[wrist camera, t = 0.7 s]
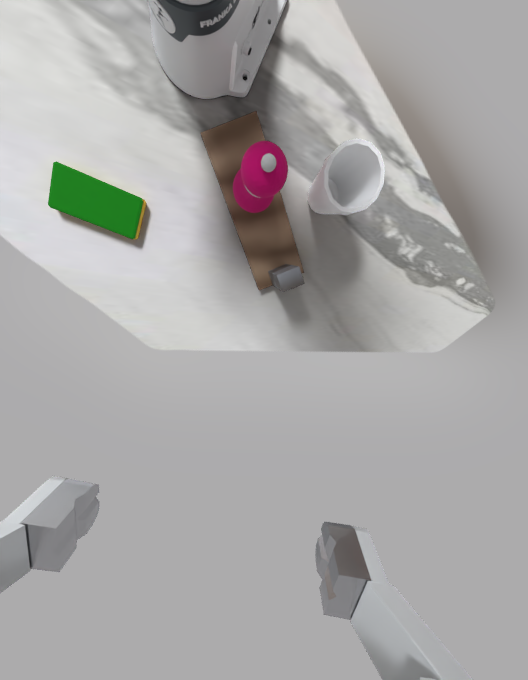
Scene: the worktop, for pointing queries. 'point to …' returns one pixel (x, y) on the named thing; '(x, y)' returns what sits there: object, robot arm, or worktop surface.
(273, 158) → the pepper mill
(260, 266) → the strip
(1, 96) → the worktop surface
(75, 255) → the worktop surface
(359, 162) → the foam cup
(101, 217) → the dish sponge
